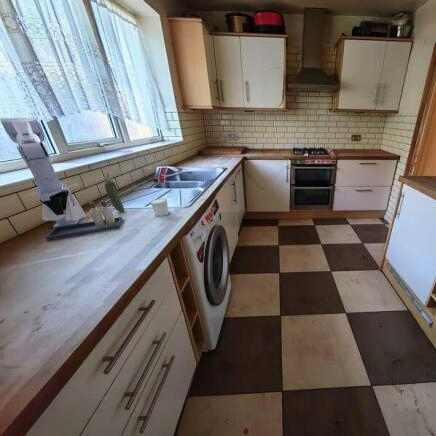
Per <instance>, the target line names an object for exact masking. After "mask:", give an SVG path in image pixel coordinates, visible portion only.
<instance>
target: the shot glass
mask: <svg viewBox="0 0 436 436" xmlns="http://www.w3.org/2000/svg"><path fill="white" fill-rule="evenodd" d="M150 205H151V207H152V210H153V212H154V215H155V216H157V217H166V216H168V215H169V206H168V199H167V198H156V199H153V200H151V201H150Z"/></svg>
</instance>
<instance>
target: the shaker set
mask: <svg viewBox="0 0 436 436" xmlns="http://www.w3.org/2000/svg"><path fill="white" fill-rule="evenodd" d="M71 197H72V201H71V200H70V196H68V197H67V204H66V215H65V214H63V215H56V214H55V213H54V212H53V211H52V210H51V209H50V208H49V207H48V206H46V205H45V204H43V205H42V216H41V217H42V218H41V219H42V221H45V222H51V221H53V222H56V221H57V220H61V219H62V218H63V217H65V216H66V217H65V220H73V221H74V220H79V221H80V220H82V219H83V218H87V215H86V213H85V211H84V209H83V207H82V206H81V204H80V203H79V201H78V199H77V197H76V196H75V195H74V194H72V195H71ZM71 202H73V206H72V204H71ZM73 217H74V218H73Z"/></svg>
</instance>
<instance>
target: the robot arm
mask: <svg viewBox="0 0 436 436" xmlns="http://www.w3.org/2000/svg"><path fill="white" fill-rule="evenodd" d="M0 123H1V125H2V127H3V129H4V131H5V133H6V135H7V136H8V137H9V138H10V140H11V141H12V142H13V143H15V144H17V145H16V149H17V151H18V154H19V155H20V157H21V159H22V161H24V162H25V164H26V166H27V167H28V168H29V171H30V172H31V174H32V176H33V179H34V181H35V182H36V185H37V186H36V187H35V192H36V196H37V198H38V199H39V202H40V203H41V205H42V206H43V204H45V205H46V206H48V207H49V208H50V209H51V210H52V211H53V212H54V213H55V214H56V215H63V214H65V215H66V204H67V197H68V196H70V200H71V204H72V206H73V202H72V197H71V195H73V194H72V192H71V190H70V188H69V187H68V185H67V184H66V183H65V182H61V181H60V180H59V177H58V175H57V172H56V171H55V169H54V167H53V164H52V162H51V156H50V153H49V151H48V150H47V147H46V145H45V144H44V143H43V142H44V141H46V140H45V135H44V131H43V129H42V127H41V124H40V122H39V120H38V119H37V117H34V116H33V117H1V118H0ZM65 217H66V216H65ZM65 217H63V218H62V219H61V220H57V221H55V224H54V225H53V226H52V228H55V227H59V226H66V225H72V224H78V223H79V221H80V220H74V221H73V220H65ZM73 218H74V217H73Z"/></svg>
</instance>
